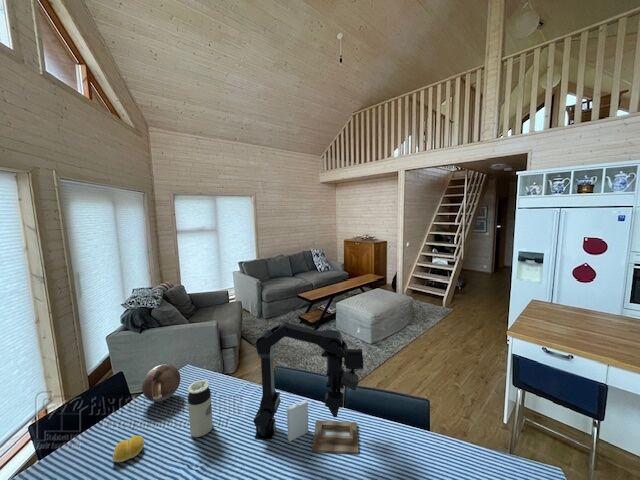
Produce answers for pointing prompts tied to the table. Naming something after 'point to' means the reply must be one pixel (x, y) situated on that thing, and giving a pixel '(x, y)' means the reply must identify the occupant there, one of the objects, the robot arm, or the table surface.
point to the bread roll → (128, 448)
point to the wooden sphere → (161, 382)
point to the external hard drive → (297, 420)
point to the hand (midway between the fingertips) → (335, 407)
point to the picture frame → (335, 437)
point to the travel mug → (200, 408)
